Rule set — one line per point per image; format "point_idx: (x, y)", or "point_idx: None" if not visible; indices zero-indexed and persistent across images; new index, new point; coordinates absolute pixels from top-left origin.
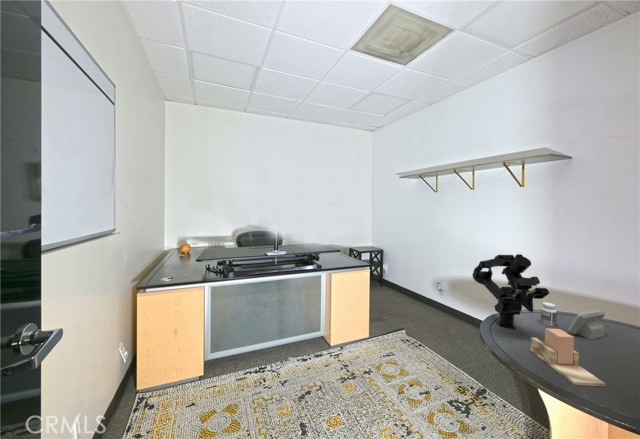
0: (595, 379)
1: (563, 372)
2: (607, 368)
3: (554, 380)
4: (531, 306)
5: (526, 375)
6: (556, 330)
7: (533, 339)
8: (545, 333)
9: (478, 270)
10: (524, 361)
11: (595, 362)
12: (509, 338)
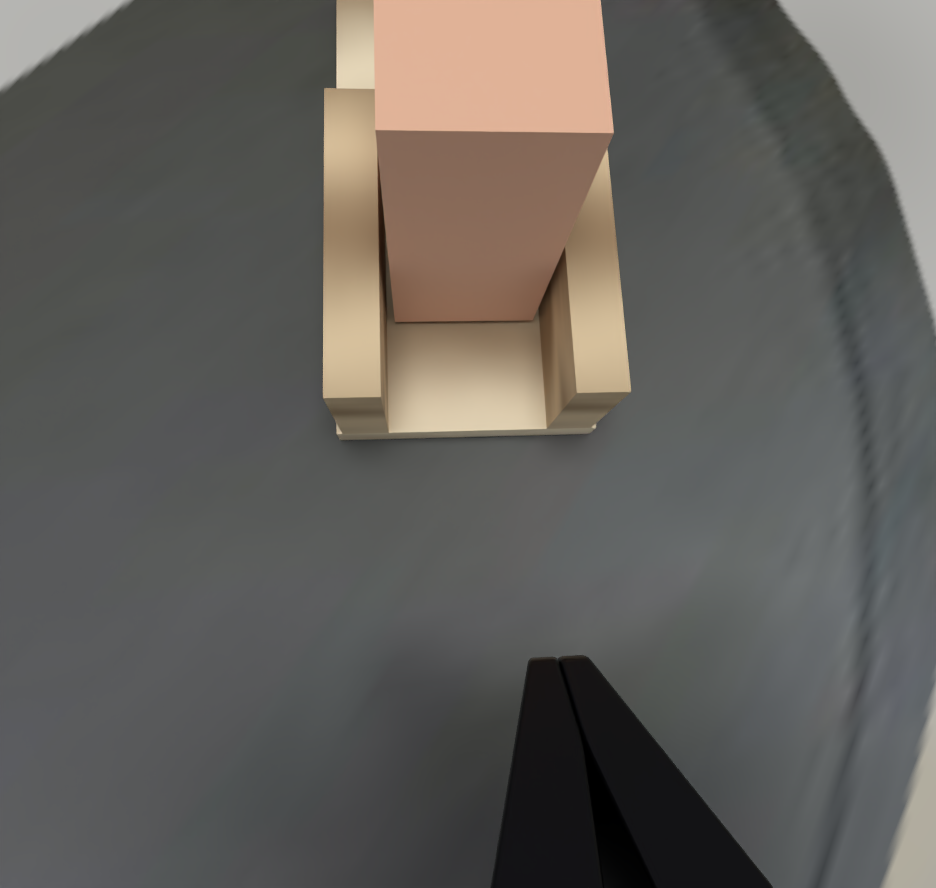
0: (370, 16)
1: None
2: (69, 213)
3: (662, 41)
4: (568, 769)
5: (831, 79)
6: (475, 76)
7: (624, 360)
8: (590, 180)
9: None
10: (749, 249)
11: (84, 295)
12: (669, 688)
